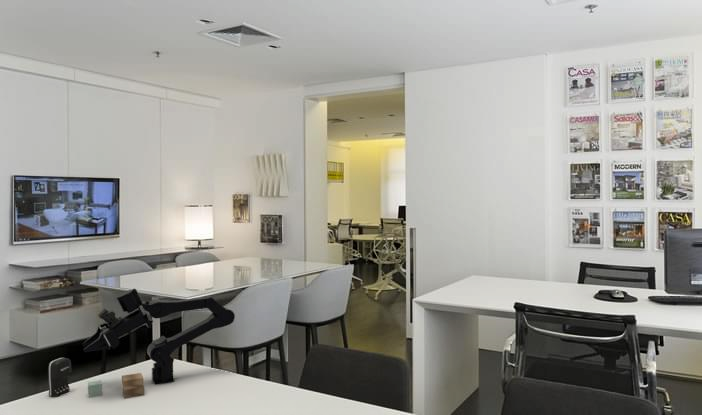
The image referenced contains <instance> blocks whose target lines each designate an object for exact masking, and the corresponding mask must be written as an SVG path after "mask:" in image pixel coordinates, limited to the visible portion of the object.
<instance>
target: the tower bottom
mask: <svg viewBox="0 0 702 415" xmlns="http://www.w3.org/2000/svg"><path fill="white" fill-rule="evenodd" d="M122 396H123V398H124V400H125V399H131V398H136V397H142V396H145V386H144V385H143V387H140V388H134V389H128V390H123V389H122Z"/></svg>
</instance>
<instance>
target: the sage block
mask: <svg viewBox="0 0 702 415" xmlns="http://www.w3.org/2000/svg"><path fill="white" fill-rule="evenodd" d="M87 390H88V391H87V392H88V398H94V397H101V396H103V382H102V379H101V380H94V381H89V382H87Z"/></svg>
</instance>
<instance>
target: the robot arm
mask: <svg viewBox="0 0 702 415" xmlns="http://www.w3.org/2000/svg"><path fill="white" fill-rule="evenodd" d="M115 298H116V300H117V302H118V305H119V306H120V308H121V310H122V312H123V313H124V312H125V313H127V315H125V316H119V317H117V316H116V312H114V311H113V310H108V309H107V308H105V307H104V308H103V309H102V310H101V311H99V313H97V317H99V319H101V320H103V321H102V322H101V323H99V324H98V325H97V328H96V332H95V333H93V334H92V335H91V336H90V337H89V338H88V339H86V340H85V341H84V342H83V343H82V346H83V347H84V349H83V351H84V353H89V352H95V351H104V350H111V349H113V350H114V349H116V348H117V347H119V345H120V338H122V337H125V336H127V335H129V336H130V335H131V334H132V332H134V331H135V330H137V329H139V328H141V327H143V326H146V327H147V328H148V329H151V327H152V325H153V322H154V320H153V319H161V318H164V317H167V316H170V315H172V314H175V313H180V312H181V313H182V312H186V311H187V312H188V311H194V310H203V309H207V310H209V311H210V312H211V313H210V315H209V316H208V317H207V318H205V319H204V320H202V321H200V322H198V323H196V324H194V325H192V326H190V327H189V328H187V329H184V330H183V331H181V332H179V333H177V334H174V335H173V336H170V337H167V338H166V337H165V336H164V335H161V336H160V337H158V338H156V339H154V340H151V343H150V344H149V345H148V346H147V349H146V353H147V355H148V356H149V358H150V359H151V360H152V361H153V366H152V367H151V380H152V382H153V383H154V384H155V385H158V384H164V383H165V384H166V383H170V382H175V378H174V362H175V359H174V358H173V356H172V354H173V353H174V352H175V351H177V349H178V348H180V347H182V346H184V345H186V344H188V343H189V342H191V341H194V340H195V339H197V338H199V337H200V336H202V335H204V334H206V333H208V332H210V331H212V330H215V329H219V328H225V327H227V326H229V325H231V324H233V323H234V321H235V316H236V315H235V313H234V311H233V310H232V309H229V308H227V307H225V306H222V305H221V304H220V303H218V301H216V300H215V299H214V298H213V297H211V296H210V295H206V296H202V297H193V298H185V299H178V300H177V299H176V300H166V299H152V300H150V301H146V300H142V299H141V297H140V296H139V293H138V290H137V289H136V288H135V287H134V288H132V289H129V290H126V291H123V292H121V293H119V294H118V295H116V296H115ZM142 310H144V311H145V312H143V311H142ZM146 312H147V313H146ZM148 315H149V316H150V317H152V318H153V319H150V318H149V316H148Z"/></svg>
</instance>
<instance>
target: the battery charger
mask: <svg viewBox="0 0 702 415" xmlns="http://www.w3.org/2000/svg"><path fill="white" fill-rule="evenodd" d="M47 366H48V368H47V379H48V380H47V381H48V382H47V383H48V396H49V397H59V396H61V395H63V394H66V393H68V392H69V391H70V386H69V382H68V381H69V379H68V376H69V374H71V373H72V361H71V359H70V358H67V357H59V358H56V359H54V360H52V361H49V363H48V365H47Z"/></svg>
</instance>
